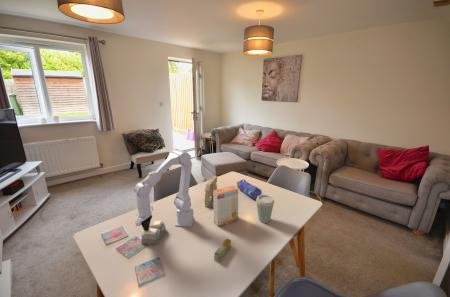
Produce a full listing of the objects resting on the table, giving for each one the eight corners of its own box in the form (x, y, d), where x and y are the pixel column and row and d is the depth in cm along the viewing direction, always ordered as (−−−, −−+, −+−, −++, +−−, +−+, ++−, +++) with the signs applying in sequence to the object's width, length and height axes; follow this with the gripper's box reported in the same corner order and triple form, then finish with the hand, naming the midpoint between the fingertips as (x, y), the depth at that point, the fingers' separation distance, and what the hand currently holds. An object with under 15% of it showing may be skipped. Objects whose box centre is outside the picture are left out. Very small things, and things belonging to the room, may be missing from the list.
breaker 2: (157, 231, 105) (157, 228, 105) (155, 236, 102) (154, 232, 101) (146, 230, 106) (146, 227, 105) (143, 235, 102) (143, 231, 102)
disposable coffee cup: (276, 220, 122) (278, 197, 119) (266, 228, 115) (268, 204, 111) (261, 213, 129) (262, 192, 126) (251, 220, 122) (252, 198, 118)
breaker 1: (162, 223, 111) (161, 220, 110) (160, 227, 108) (159, 223, 107) (152, 224, 112) (151, 221, 111) (150, 228, 109) (148, 225, 108)
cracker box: (233, 215, 127) (233, 184, 122) (238, 220, 122) (239, 188, 117) (213, 221, 121) (212, 189, 115) (217, 227, 115) (217, 194, 110)
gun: (208, 208, 135) (208, 186, 132) (204, 207, 136) (204, 186, 133) (217, 194, 158) (217, 176, 156) (213, 193, 159) (213, 175, 157)
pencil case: (236, 189, 162) (236, 178, 160) (244, 187, 166) (245, 176, 164) (252, 202, 143) (253, 189, 141) (262, 199, 148) (262, 187, 145)
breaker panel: (165, 229, 113) (165, 222, 112) (156, 244, 102) (155, 236, 100) (152, 228, 114) (151, 221, 113) (141, 243, 102) (140, 235, 101)
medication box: (218, 263, 91) (219, 255, 90) (213, 260, 92) (213, 253, 91) (230, 246, 101) (231, 239, 100) (226, 244, 102) (226, 237, 101)
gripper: (143, 198, 107) (145, 220, 111) (128, 213, 93) (131, 238, 97) (156, 199, 107) (158, 221, 110) (142, 214, 93) (145, 239, 96)
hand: (146, 229), depth 103 cm, fingers closed
